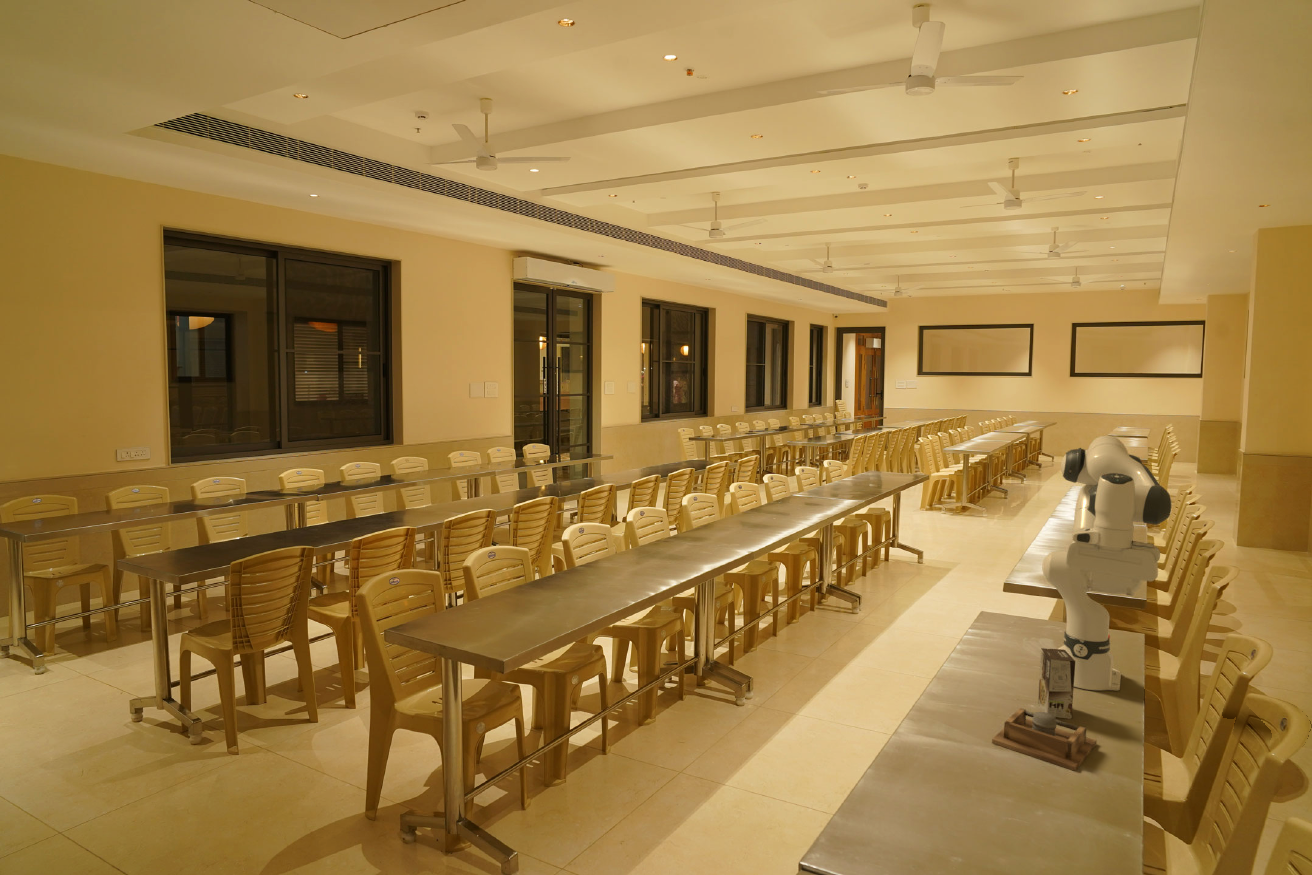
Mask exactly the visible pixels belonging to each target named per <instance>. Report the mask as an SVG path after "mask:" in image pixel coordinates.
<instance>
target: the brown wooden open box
mask: <svg viewBox="0 0 1312 875" xmlns="http://www.w3.org/2000/svg"><path fill="white" fill-rule="evenodd" d="M1034 713H1035V712H1031V711H1029V710H1027V709H1024V708H1019V709H1017V711H1015V712H1014V713H1013V714H1012V715H1011V716H1010V717H1009V718H1008V719H1007V720H1006V721H1004V727H1003V728H1002V730H1000V731H999V732H998V733H997V734H996V735H995V736H994V737H993V738H992V739H991V744H993V745H997V746H1000V747H1003V748H1005V749H1009V750H1011V751H1015V752H1018V753H1020V754H1023V755H1027V756H1029V757H1032V758H1035V759H1037V760H1038V759H1039V760H1042V761H1045V762H1047V763H1050V764H1052V765H1056V766H1059V767H1062V768H1065V769H1068V770H1071V771H1074V772H1075V771H1077V770H1078V768H1079V767H1080V766H1081V764H1082V763H1083V762H1084V760H1085V759H1086V758H1087V757H1088V756H1089V755H1090V753H1091V752H1092V750H1093V749H1094V748H1095V747H1096V745H1097V740H1096V739H1094V738H1090V737H1087V727H1085V726H1078V725H1075V724H1072V723H1068V722H1065V721H1062V720H1060V719H1059V720H1058V719H1056V723H1057V724H1056V726H1059V727H1062V728H1063V727H1064V728H1066V729H1069V730H1073V731H1074V732H1070V731H1068V730H1064V729H1061V728H1058V727H1056V728H1055V733H1056V736H1053V735H1049V734H1046V733H1043V732H1040V731H1037V730H1034V729H1032V728H1033V723H1032V719H1029V718H1027V717H1031V718H1033V715H1034Z"/></svg>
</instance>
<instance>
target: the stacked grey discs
mask: <svg viewBox="0 0 1312 875" xmlns="http://www.w3.org/2000/svg"><path fill="white" fill-rule="evenodd" d="M1033 713H1034V715H1033V717H1031V718H1032V719H1031V720H1032V723H1033V728H1032V729H1034V730H1037V731H1040V732H1043V733H1046V734H1049V735H1053V736H1056V733H1055V728H1057V725H1056V724H1057V723H1056V720H1057V717H1055V716H1053V715H1051V714H1049V713H1045V712H1044V711H1036V712H1033Z"/></svg>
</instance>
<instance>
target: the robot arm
mask: <svg viewBox="0 0 1312 875" xmlns="http://www.w3.org/2000/svg"><path fill="white" fill-rule="evenodd" d="M1060 470H1061V474H1062V477H1063V479H1065V480H1066V481H1069V482H1071V483H1075V484H1076V483H1077V484H1083V486H1082V487H1081V488H1080V490H1079V493H1078V496H1077V498H1076V503H1075V509H1074V520H1073V530H1072V533H1073V534H1072V535H1071V536H1072V537H1071V539H1072V542H1070V543H1069V545H1068V547H1067V550H1063V551H1062V550H1061V551H1059V550H1058V551H1050V552H1049V553H1048V554H1047V555H1046V556H1045V558H1044V560H1043V561H1042V573H1043V576H1044V578H1045V580H1046V581H1047V582H1048V583H1049V584H1051V586H1053V587H1054V588H1055V589H1056V590H1057V591H1058V593H1059V594H1060V595H1061V597H1062V599H1063V602H1064V606H1065V610H1066V614H1065V615H1066V628H1065V631H1064V634H1063V645H1062V646H1059V647H1058V648H1057V649H1062V650H1065V651H1066V652H1067V653H1068V654H1069V655H1070V656H1071V657H1072V658H1073V659H1074V660H1075V661H1076V662H1075V675H1074V687H1075V688H1079V689H1083V690H1087V691H1088V690H1090V691H1120V689H1121V678H1122V677H1121V676H1122V674H1121V671H1119V670H1118V669H1116V668H1114V655H1113V654H1112V653H1111V651H1110V650H1111V648H1110V646H1111V640H1110V638H1111V635H1110V634H1109V633H1110V632H1109V630H1110V629H1109V628H1110V613H1109V611H1108V610H1107V609H1106V607H1104V605H1102V604H1100V603H1098V602H1097V601H1095V600H1093V599H1091V598H1090V596H1089V595H1088V594H1087V592H1095V593H1096V592H1097V593H1103V594H1104V593H1105V594H1110V595H1111V594H1112V595H1127V596H1130V597H1131V596H1132V597H1134V596H1135V592H1137V591H1138V590H1139V589H1140V587H1141V586H1142V583H1143V581H1144V582H1145V581H1146V582H1153V581H1155V580H1157V578H1158V575H1159V567H1158V566H1159V564H1158V561H1159V560H1160V557H1161V551H1160V549H1159V547H1157V546H1156V545H1154V544H1153V543H1150V542H1147V543H1146V542H1142V541H1135V540H1134V532H1135V526H1134V523H1135V522H1136V523H1143V524H1148V525H1154V526H1155V525H1156V526H1158V525H1159V524H1162V523H1163V522H1164V521H1166V520H1167V519H1169V518H1170V516H1171V513H1172V512H1171V511H1172V506H1173V505H1172V504H1173V503H1172V499H1171V496H1170V493H1169V492H1168V490H1167V489H1165V487H1163V486H1162V485H1160V483H1159V482H1158V480H1157V479H1156V477H1155V476H1154V474H1153V473H1152V471H1151V470H1150V469H1149V468H1148V467H1147V466H1146V465H1144V464H1143V461H1142V460H1141V458H1140V457H1139V456H1136V455H1133V454H1129V452H1128V449H1127V447H1126V445H1124V443H1123V442H1122V441H1121V440H1120V439H1119V438H1117V437H1115V436H1112V435H1101V436H1098V437H1096V438H1094V439H1093V441H1092V442H1091V443H1090V444H1089V446H1088V448H1087V449H1084V448H1082V447H1079V448H1075V449H1070V450H1068V451H1066V452H1065V454H1064V456H1063V458H1062V459H1061V462H1060ZM1133 522H1134V523H1133Z"/></svg>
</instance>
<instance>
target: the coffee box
mask: <svg viewBox="0 0 1312 875" xmlns="http://www.w3.org/2000/svg"><path fill="white" fill-rule="evenodd" d="M1039 662H1040V663H1039V678H1038V679H1039V683H1038V701H1037V702H1038V705H1039V706H1040V708H1041V710H1042V712H1045V713H1049V714H1051V715H1053V716H1055V717H1056V718H1060V719H1069V720H1071V719H1072V715H1073V701H1074V675H1075V662H1076V661H1075V660H1074V659H1073V658H1072V657H1071V656H1070V655H1069V654H1068V653H1067V652H1066V651H1065V650H1062V649H1058V648H1044V647H1043V648H1042V647H1041V649H1040V661H1039Z"/></svg>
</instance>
